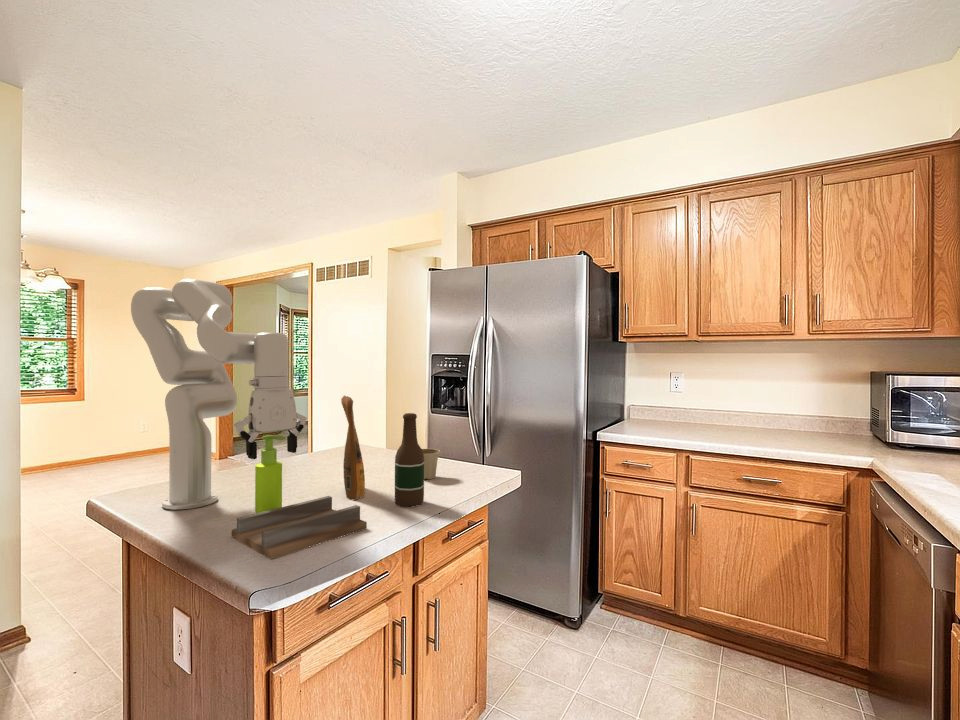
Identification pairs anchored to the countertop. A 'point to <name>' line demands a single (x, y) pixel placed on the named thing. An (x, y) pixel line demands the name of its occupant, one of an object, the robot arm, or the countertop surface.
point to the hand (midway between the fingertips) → (272, 455)
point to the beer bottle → (409, 467)
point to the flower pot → (430, 462)
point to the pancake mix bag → (352, 456)
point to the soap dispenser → (268, 477)
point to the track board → (296, 526)
